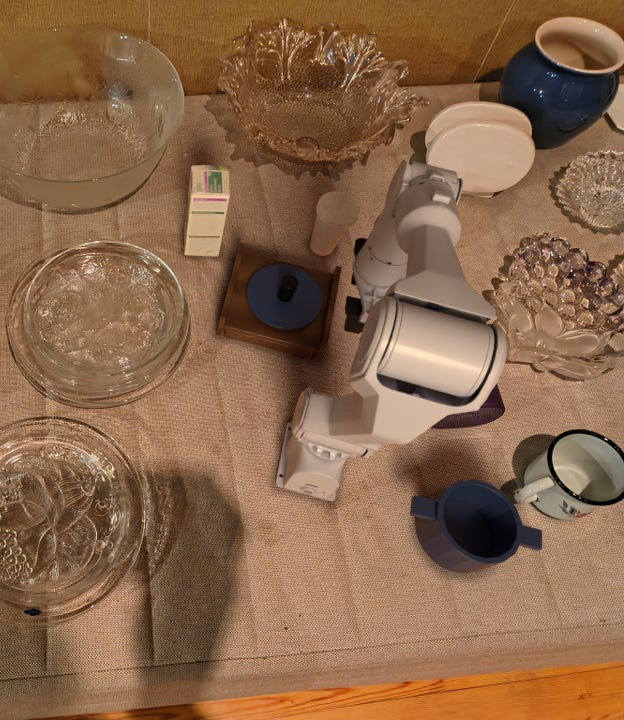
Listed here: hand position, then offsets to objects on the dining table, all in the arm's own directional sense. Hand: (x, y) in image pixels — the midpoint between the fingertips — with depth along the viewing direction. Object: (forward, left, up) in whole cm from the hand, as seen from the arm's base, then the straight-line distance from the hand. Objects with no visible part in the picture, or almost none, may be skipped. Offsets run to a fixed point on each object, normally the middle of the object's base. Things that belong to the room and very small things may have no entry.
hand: (355, 306), depth 90 cm
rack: (+3, +9, -10) cm, 14 cm away
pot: (-24, -20, -10) cm, 32 cm away
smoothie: (+17, +4, -10) cm, 21 cm away
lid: (+3, +9, -7) cm, 12 cm away
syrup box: (+12, +23, -10) cm, 28 cm away
